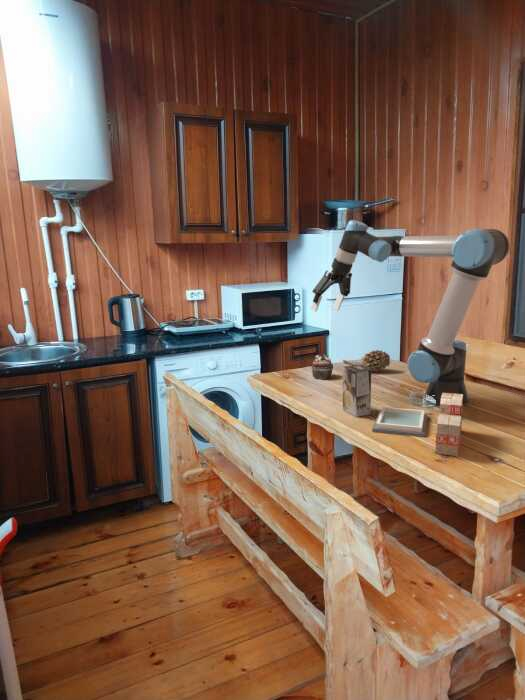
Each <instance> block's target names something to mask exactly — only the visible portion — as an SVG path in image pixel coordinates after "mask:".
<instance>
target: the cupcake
mask: <svg viewBox="0 0 525 700" xmlns="http://www.w3.org/2000/svg"><path fill="white" fill-rule="evenodd" d="M310 369H311V373H312V378H313V377H314V378H315V380H319V379H320V380H321V381H324V380H325V381H326V380H329V379H332V374H333V370H334V365H333V363H332V360H331V358H330V357H329V356H328V354H326V353H325V354H317V355H315V359H314V360H313V362H312V365H311V367H310ZM314 378H313V379H314ZM320 380H319V381H320Z"/></svg>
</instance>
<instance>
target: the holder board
mask: <svg viewBox="0 0 525 700" xmlns="http://www.w3.org/2000/svg"><path fill="white" fill-rule="evenodd" d="M427 423H428V413H425V410H424V409H423V410H422V409H414V408H413V409H411V408H400V407H389V406H388V407H387V406H382V407H381V409H379V411H378V414H377V417H376V418H375V422H374V423H373V426H372V433H383V434H392V435H402V436H411V435H412V436H414V437H421V436H423V438H425V437H426V431H427V425H428V424H427Z"/></svg>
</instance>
